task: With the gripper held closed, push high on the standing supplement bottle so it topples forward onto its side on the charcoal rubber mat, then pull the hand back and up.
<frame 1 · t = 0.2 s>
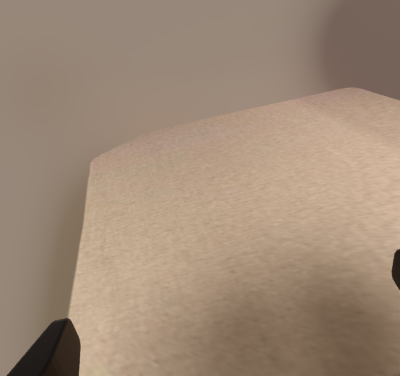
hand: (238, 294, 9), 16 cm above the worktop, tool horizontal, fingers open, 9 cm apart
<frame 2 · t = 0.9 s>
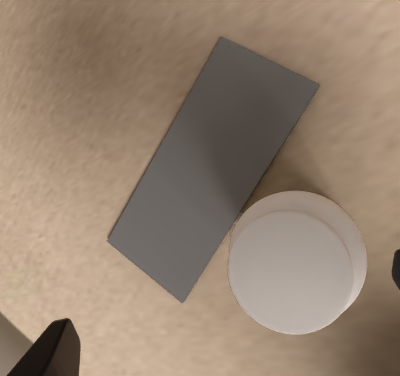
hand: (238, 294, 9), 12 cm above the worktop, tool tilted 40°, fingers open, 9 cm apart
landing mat: (203, 171, 22), on the worktop
supplement bottle: (304, 237, 20), on the worktop
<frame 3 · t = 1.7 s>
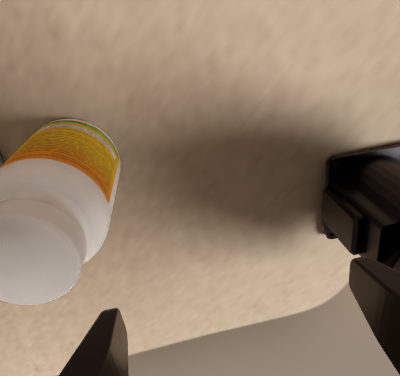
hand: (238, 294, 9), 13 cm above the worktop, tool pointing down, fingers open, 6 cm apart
supplement bottle: (76, 159, 21), on the worktop
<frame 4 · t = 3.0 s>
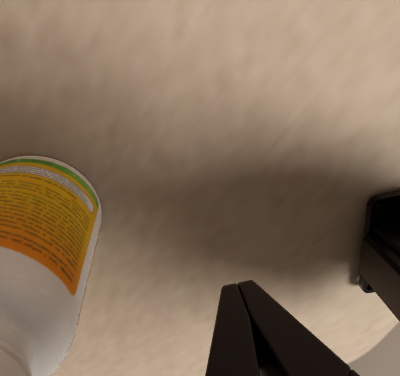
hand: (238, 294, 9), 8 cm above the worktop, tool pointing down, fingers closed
supplement bottle: (43, 205, 16), on the worktop
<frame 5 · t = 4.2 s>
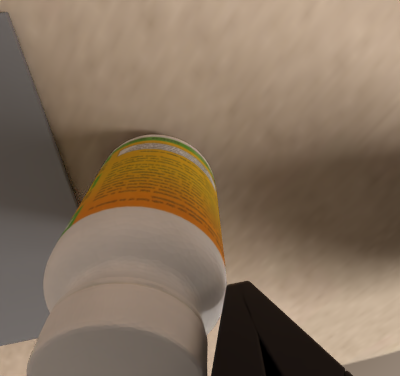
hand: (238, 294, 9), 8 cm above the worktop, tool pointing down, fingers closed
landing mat: (2, 213, 16), on the worktop
supplement bottle: (159, 184, 16), on the worktop, touching gripper
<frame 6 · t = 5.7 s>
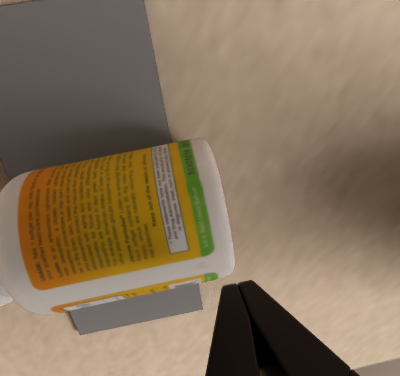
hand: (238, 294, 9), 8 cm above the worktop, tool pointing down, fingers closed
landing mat: (104, 196, 16), on the worktop
supplement bottle: (225, 203, 13), point 3 cm above the worktop, touching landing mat
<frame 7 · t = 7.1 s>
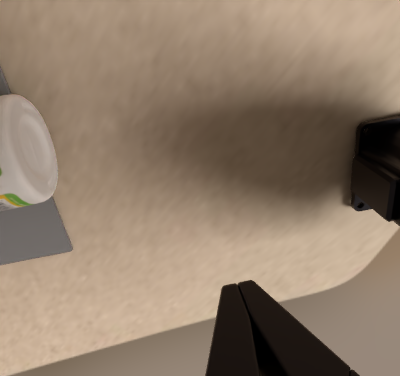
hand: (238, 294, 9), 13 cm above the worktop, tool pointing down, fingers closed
supplement bottle: (41, 147, 17), point 3 cm above the worktop, touching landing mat
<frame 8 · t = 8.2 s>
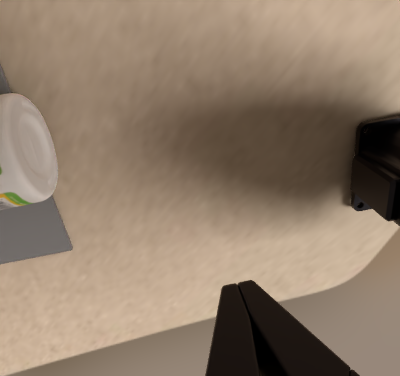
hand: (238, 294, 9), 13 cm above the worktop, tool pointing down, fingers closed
supplement bottle: (41, 146, 17), point 3 cm above the worktop, touching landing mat
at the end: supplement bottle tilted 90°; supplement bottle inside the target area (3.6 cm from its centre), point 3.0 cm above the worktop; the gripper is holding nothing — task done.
